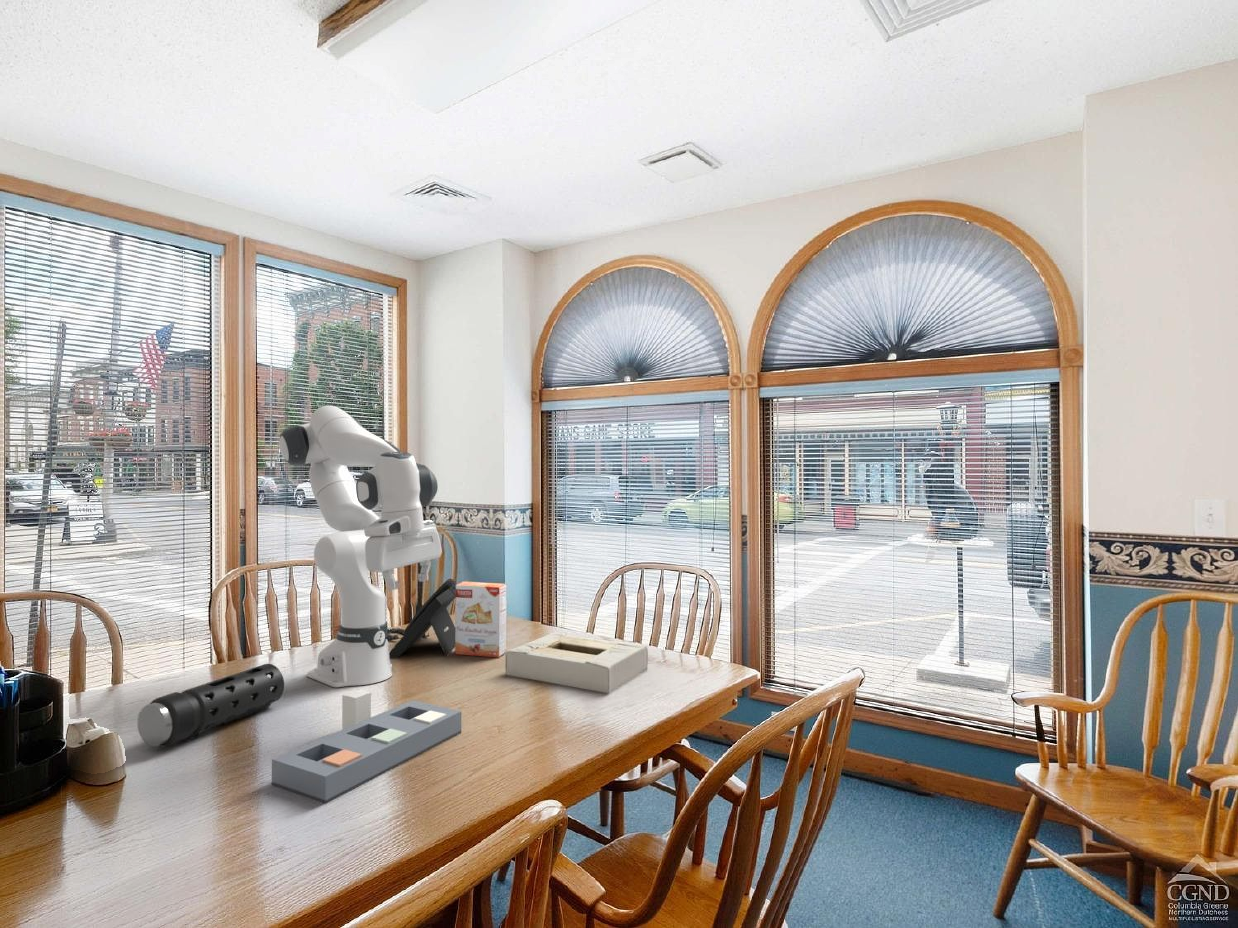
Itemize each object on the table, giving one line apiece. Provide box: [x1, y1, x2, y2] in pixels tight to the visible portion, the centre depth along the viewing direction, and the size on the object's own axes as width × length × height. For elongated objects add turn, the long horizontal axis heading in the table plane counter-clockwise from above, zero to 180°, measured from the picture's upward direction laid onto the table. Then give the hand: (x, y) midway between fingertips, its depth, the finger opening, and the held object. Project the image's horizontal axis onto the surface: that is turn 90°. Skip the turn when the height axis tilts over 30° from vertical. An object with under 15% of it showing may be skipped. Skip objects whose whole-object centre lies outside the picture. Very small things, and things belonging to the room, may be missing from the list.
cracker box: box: [454, 581, 507, 658], centre depth 204 cm, size 14×6×21 cm, turn 77°
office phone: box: [386, 578, 457, 659], centre depth 214 cm, size 29×28×20 cm
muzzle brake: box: [137, 663, 285, 748], centre depth 148 cm, size 10×28×10 cm, turn 159°
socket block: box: [271, 699, 462, 804], centre depth 134 cm, size 14×34×5 cm, turn 152°
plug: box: [341, 689, 372, 730], centre depth 146 cm, size 4×4×8 cm
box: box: [504, 631, 649, 694], centre depth 188 cm, size 23×8×32 cm
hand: (409, 585), depth 154 cm, fingers open, 8 cm apart
